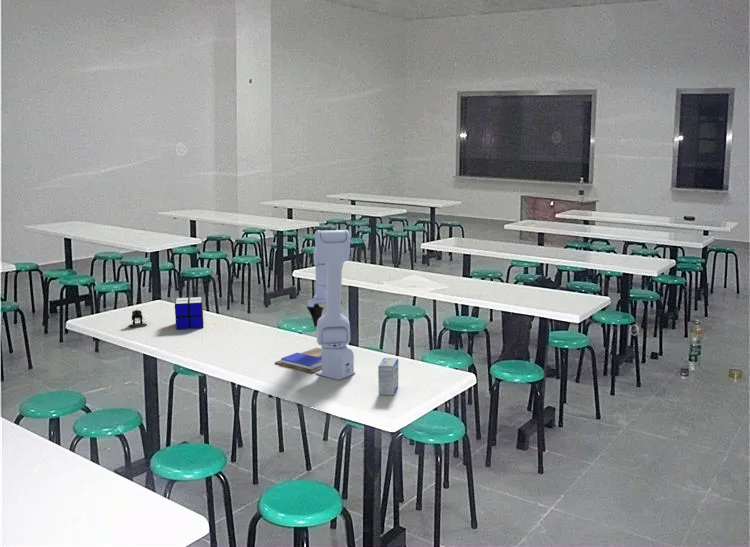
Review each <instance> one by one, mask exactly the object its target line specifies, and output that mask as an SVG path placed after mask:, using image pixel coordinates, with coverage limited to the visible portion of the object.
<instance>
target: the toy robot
mask: <svg viewBox="0 0 750 547" xmlns="http://www.w3.org/2000/svg"><path fill="white" fill-rule="evenodd" d="M142 313H143V312H142V310H139V309H135V310H132V312H131V320H130V322H132V323H130V324H129V325H128V326H127V327H128V328H129V327H130V329H140V328H145V327H147V326H148V324H147V321H145V319H144V317H143V315H142ZM137 321H138V322H137ZM136 322H137V323H136Z"/></svg>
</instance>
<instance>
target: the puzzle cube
mask: <svg viewBox="0 0 750 547" xmlns="http://www.w3.org/2000/svg"><path fill="white" fill-rule="evenodd" d="M203 304H204V303H203V297H201V296H198V297H197V296H196V297H177V298H175V301H174V314H175V315H174V316H175V330H193V329H204V310H203V309H204V308H203V307H204V306H203Z"/></svg>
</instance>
